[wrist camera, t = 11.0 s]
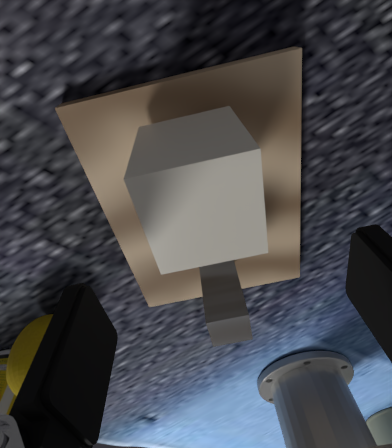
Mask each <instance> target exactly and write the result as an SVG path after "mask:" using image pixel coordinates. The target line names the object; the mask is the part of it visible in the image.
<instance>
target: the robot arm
mask: <svg viewBox="0 0 392 448" xmlns="http://www.w3.org/2000/svg"><path fill="white" fill-rule="evenodd" d="M346 293H347V296H348V298H349V299H350V301H351V302H352V304H353V305H354V307H355V308H356V310H357V311H358V313H359V314H360V316H361V317H362V319H363V320H364V322H365V323H366V325H367V326H368V328H369V329H370V331H371V332H372V334H373V335H374V337H375V338H376V340H377V341H378V343H379V344H380V346H381V347H382V349H383V350H384V352H385V353H386V355H387V356H388V358H389V359H390V361H391V362H392V237H391V236H390V235H389V234H388V233H386V232H385V231H384V230H383V229H382V228H381V227H380V226H378V225H376V224H375V225H370V226H365V227H360V228H357V230H356V233H353V234H352V236H351V243H350V252H349V261H348V270H347V278H346ZM116 345H117V332H116V329H115V328H114V326H113V324H112V323H111V321H110V319H109V317H108V316H107V314H106V312H105V311H104V309H103V307H102V305H101V304H100V302H99V300H98V299H97V297H96V295H95V293H94V292H93V290H92V288H91V287H90V286H86V285H85V284H84V283H80V284H75V285H70V286H67V287H66V288H65V289H64V291H63V293H62V296H61V298H60V300H59V302H58V305H57V307H56V309H55V311H54V314H53V316H52V318H51V320H50V323H49V325H48V327H47V329H46V332H45V334H44V336H43V338H42V341H41V343H40V345H39V347H38V350H37V352H36V354H35V356H34V359H33V361H32V363H31V365H30V368H29V370H28V372H27V374H26V377H25V379H24V381H23V383H22V386H21V388H20V390H19V392H18V395H17V397H16V399H15V401H14V404H13V406H12V409H11V411H10V413H9V415H8V414H6V415H0V448H92V447H93V445H94V444H96V443H97V441H98V437H99V433H100V428H101V422H102V417H103V412H104V407H105V402H106V397H107V391H108V386H109V381H110V376H111V371H112V366H113V361H114V355H115V350H116ZM353 375H354V370H353V367H352V365H351V363H350V362H349V360H348V359H347V358H346V357H345V356H343V355H341V354H338V353H335V352H331V351H309V352H303V353H298V354H295V355H291V356H288V357H286V358H283V359H281V360H279V361H277V362H275V363H274V364H272V365H270V366H269V367H268V368H267V369H265V370H264V371H263V373H262V374H261V375H260V377H259V379H258V382H257V386H258V390H259V394H260V396H261V397H262V398H263V399H264V400H266V401H268V402H270V403H272V404H274V405H275V409H276V412H277V416H278V419H279V423H280V427H281V430H282V434H283V438H284V441H285V445H286V448H392V444H385V445H378V446H377V444H376V442H375V440H374V438H373V436H372V434H371V432H370V430H369V428H368V426H367V424H366V422H365V420H364V418H363V416H362V414H361V412H360V409H359V407H358V405H357V403H356V401H355V399H354V397H353V395H352V393H351V391H350V389H349V387H348V384H349V383H350V382H351V380H352V378H353Z"/></svg>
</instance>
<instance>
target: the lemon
mask: <svg viewBox="0 0 392 448" xmlns="http://www.w3.org/2000/svg"><path fill="white" fill-rule="evenodd" d="M52 316H53V314H49V315H44V316H41V317H39V318H37V319H35V320H33V321H32V322H31V323H30V324H28V325H27V326H26V327H25V328H24V329H23V330H22V331H21V333H20V334H19V335H18V337H17V339H16V340H15V342H14V344H13V346H12V348H11V351H10V354H9V357H8V361H7V367H6V380H7V383H8V386H9V388H10V389H11V391H12V392H13V393H14V394H15V395H16V396H17V395H18V392H19V390H20V388H21V386H22V383H23V381H24V379H25V377H26V374H27V372H28V370H29V368H30V365H31V363H32V361H33V359H34V356H35V354H36V352H37V350H38V347H39V345H40V343H41V341H42V338H43V336H44V334H45V332H46V329H47V327H48V325H49V323H50V320H51V318H52Z"/></svg>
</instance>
